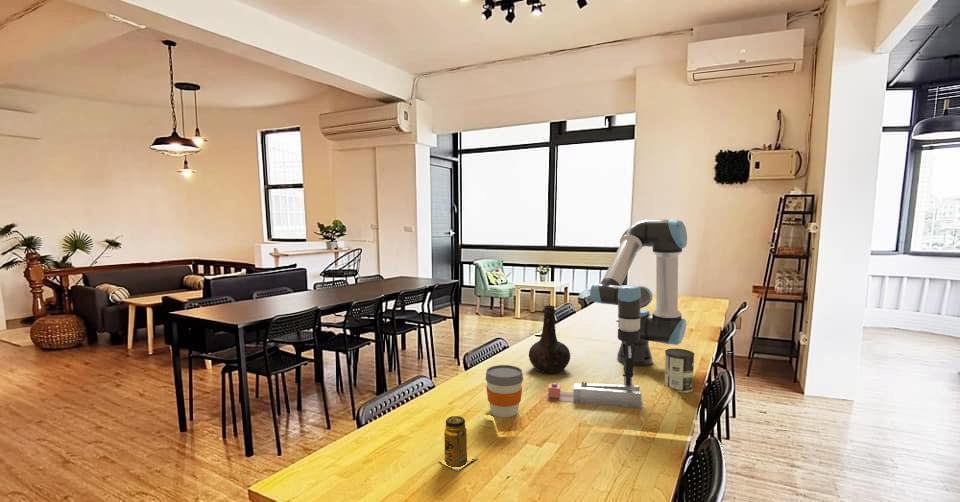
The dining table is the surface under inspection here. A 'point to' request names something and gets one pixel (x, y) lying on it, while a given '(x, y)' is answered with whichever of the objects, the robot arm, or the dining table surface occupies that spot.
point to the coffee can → (679, 369)
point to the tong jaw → (613, 386)
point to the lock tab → (554, 390)
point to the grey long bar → (606, 396)
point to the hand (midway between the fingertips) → (627, 392)
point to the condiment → (456, 442)
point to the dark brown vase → (549, 347)
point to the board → (569, 398)
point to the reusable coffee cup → (504, 389)
